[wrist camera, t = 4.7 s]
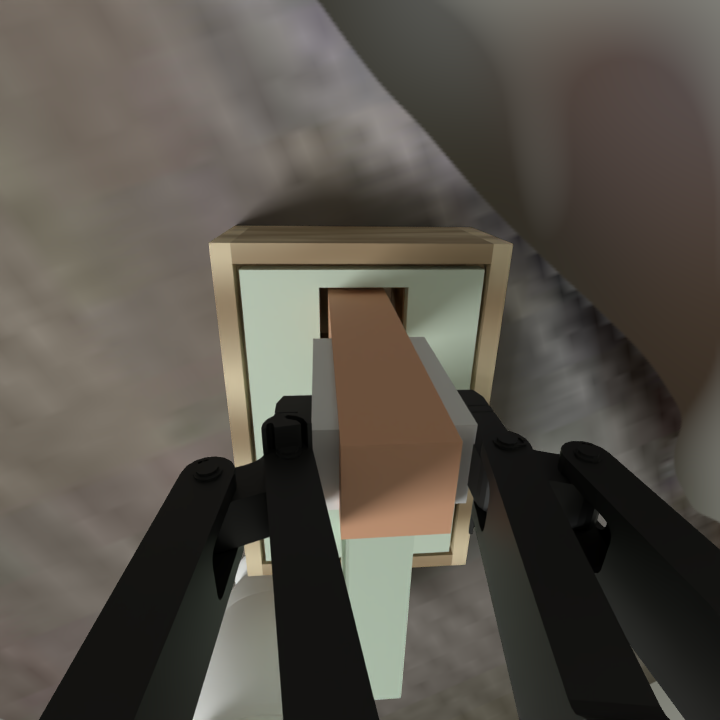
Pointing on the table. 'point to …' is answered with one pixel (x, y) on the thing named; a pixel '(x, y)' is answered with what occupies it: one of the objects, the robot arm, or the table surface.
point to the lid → (294, 377)
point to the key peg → (388, 424)
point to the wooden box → (327, 250)
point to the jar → (244, 656)
